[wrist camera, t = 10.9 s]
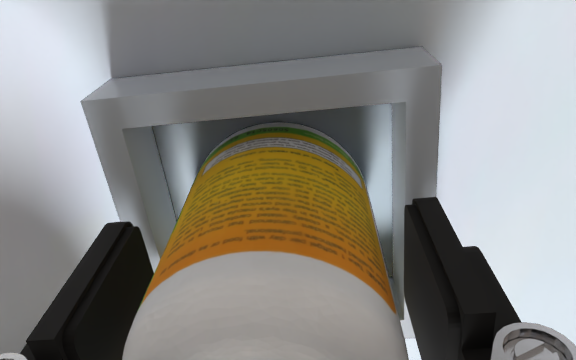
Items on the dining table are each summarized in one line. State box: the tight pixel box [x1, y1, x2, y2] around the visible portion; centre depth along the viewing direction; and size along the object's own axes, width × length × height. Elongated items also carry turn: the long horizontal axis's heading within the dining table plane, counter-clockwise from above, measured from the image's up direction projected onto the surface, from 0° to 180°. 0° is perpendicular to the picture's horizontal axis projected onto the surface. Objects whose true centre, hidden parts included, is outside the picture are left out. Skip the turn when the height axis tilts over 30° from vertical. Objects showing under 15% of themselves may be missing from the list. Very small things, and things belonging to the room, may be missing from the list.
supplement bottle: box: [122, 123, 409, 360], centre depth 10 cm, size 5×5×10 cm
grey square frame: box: [81, 46, 442, 339], centre depth 14 cm, size 9×9×2 cm
